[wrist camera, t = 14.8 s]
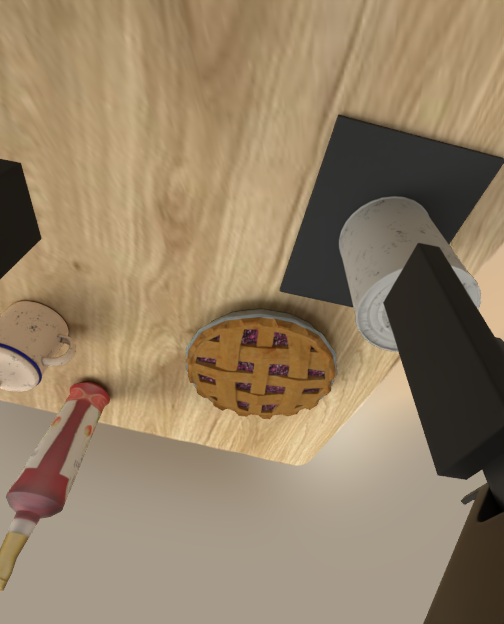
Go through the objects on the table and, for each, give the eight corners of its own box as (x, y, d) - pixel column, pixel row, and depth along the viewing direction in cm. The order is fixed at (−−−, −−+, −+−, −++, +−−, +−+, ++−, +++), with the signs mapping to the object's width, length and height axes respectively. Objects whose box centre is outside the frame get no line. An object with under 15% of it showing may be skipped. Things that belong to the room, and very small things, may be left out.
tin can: (418, 275, 40) (457, 353, 31) (334, 275, 41) (348, 351, 32) (443, 194, 34) (502, 262, 25) (344, 197, 35) (365, 263, 26)
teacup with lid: (20, 340, 54) (-31, 404, 45) (-4, 295, 48) (-69, 358, 39) (96, 348, 54) (60, 413, 45) (81, 303, 48) (36, 369, 39)
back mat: (338, 114, 31) (339, 116, 30) (503, 157, 32) (506, 160, 32) (279, 288, 44) (279, 291, 43) (398, 314, 45) (399, 317, 45)
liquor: (74, 370, 58) (-48, 575, 37) (117, 384, 60) (24, 588, 39) (69, 393, 63) (-41, 587, 41) (110, 405, 64) (24, 598, 43)
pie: (199, 395, 60) (193, 421, 56) (177, 296, 46) (168, 321, 42) (326, 401, 58) (329, 428, 55) (345, 300, 44) (351, 326, 40)
